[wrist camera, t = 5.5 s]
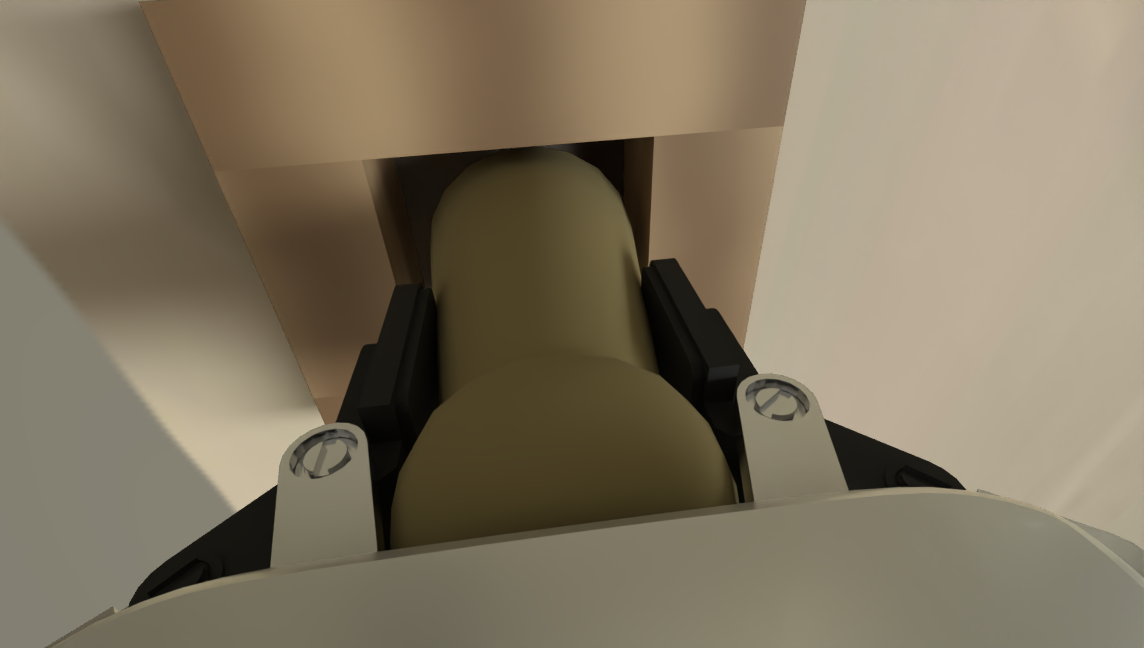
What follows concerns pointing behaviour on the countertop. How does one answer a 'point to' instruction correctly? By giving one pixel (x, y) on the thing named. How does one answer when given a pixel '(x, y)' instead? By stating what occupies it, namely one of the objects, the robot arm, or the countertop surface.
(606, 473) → the cork
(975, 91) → the countertop surface
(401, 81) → the socket ring
